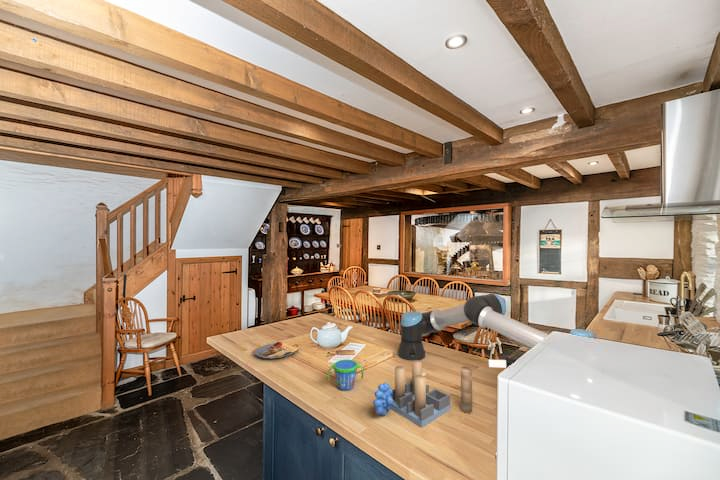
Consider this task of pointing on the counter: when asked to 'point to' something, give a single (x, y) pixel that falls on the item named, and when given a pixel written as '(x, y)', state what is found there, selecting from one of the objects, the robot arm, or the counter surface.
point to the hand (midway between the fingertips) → (494, 370)
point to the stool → (418, 397)
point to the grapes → (383, 399)
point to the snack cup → (345, 373)
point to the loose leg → (466, 389)
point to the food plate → (273, 351)
